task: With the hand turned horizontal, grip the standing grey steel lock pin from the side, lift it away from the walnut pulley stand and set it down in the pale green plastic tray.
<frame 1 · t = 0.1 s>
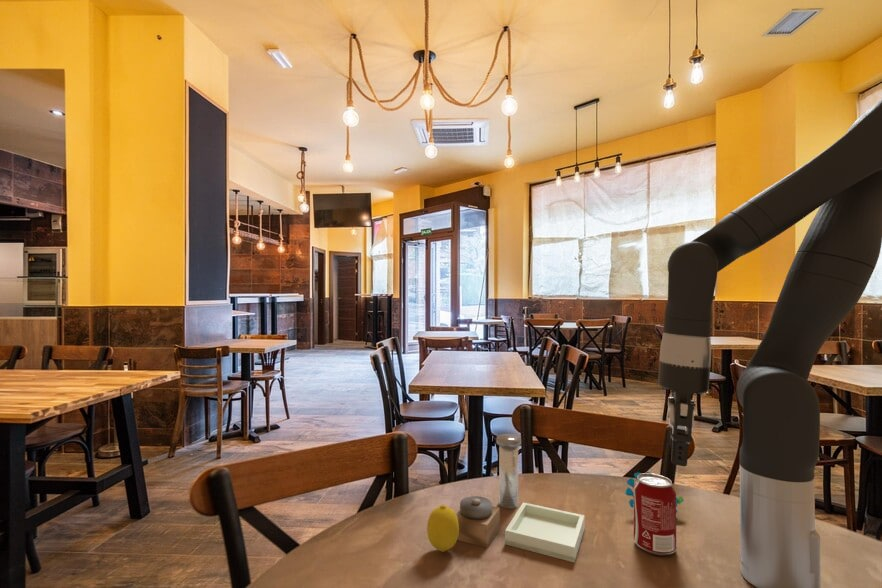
hand: (677, 456, 73), 17 cm above the table, tool pointing down, fingers open, 8 cm apart
gear: (654, 516, 88), on the table
pulley stand: (475, 533, 80), on the table
soda can: (654, 548, 76), on the table
lock pin: (508, 504, 92), on the table
lemon: (442, 552, 74), on the table
tray: (546, 536, 80), on the table
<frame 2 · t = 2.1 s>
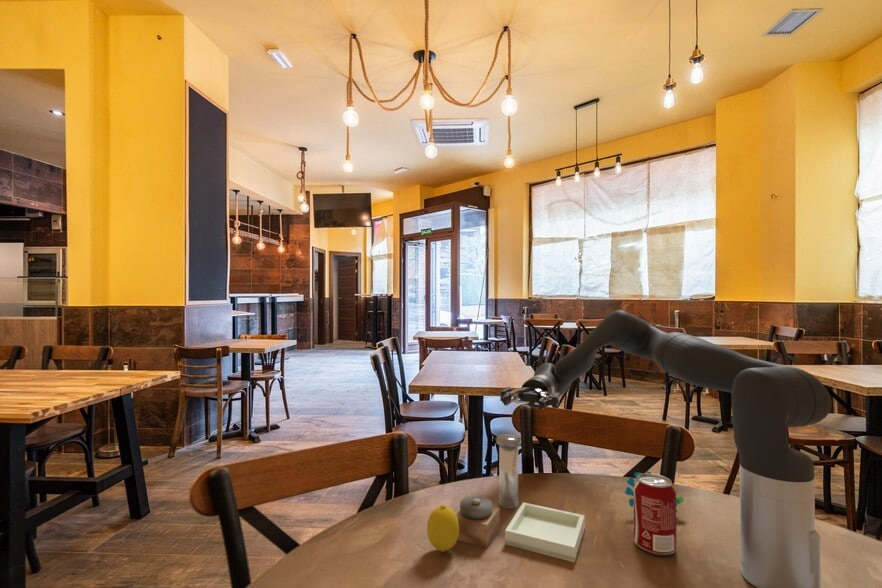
hand: (522, 403, 102), 19 cm above the table, tool horizontal, fingers open, 8 cm apart
nothing on the table moved.
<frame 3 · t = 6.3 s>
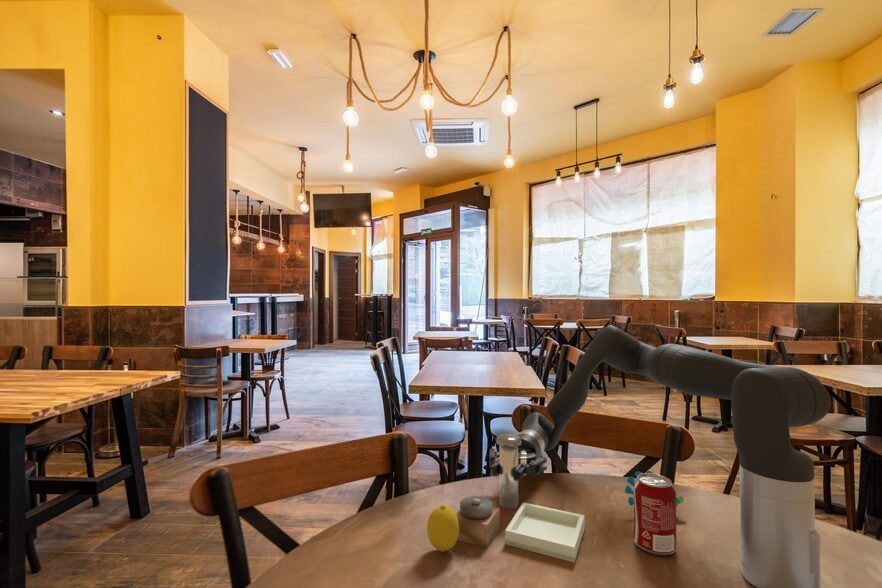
hand: (505, 473, 90), 8 cm above the table, tool horizontal, fingers closed on lock pin, 4 cm apart
lock pin: (508, 504, 92), on the table, touching gripper
everything else where it was.
when the fingers open (10 cm above the table, at t = 10.4 s): lock pin drops 1 cm, resting on tray.
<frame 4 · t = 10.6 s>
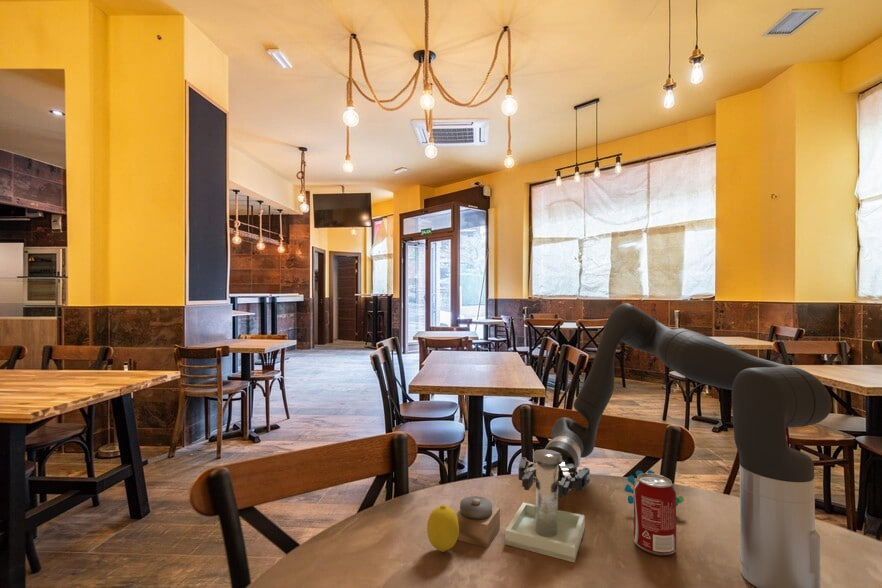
hand: (543, 488, 77), 10 cm above the table, tool horizontal, fingers open, 5 cm apart
lock pin: (546, 531, 80), point 1 cm above the table, touching tray
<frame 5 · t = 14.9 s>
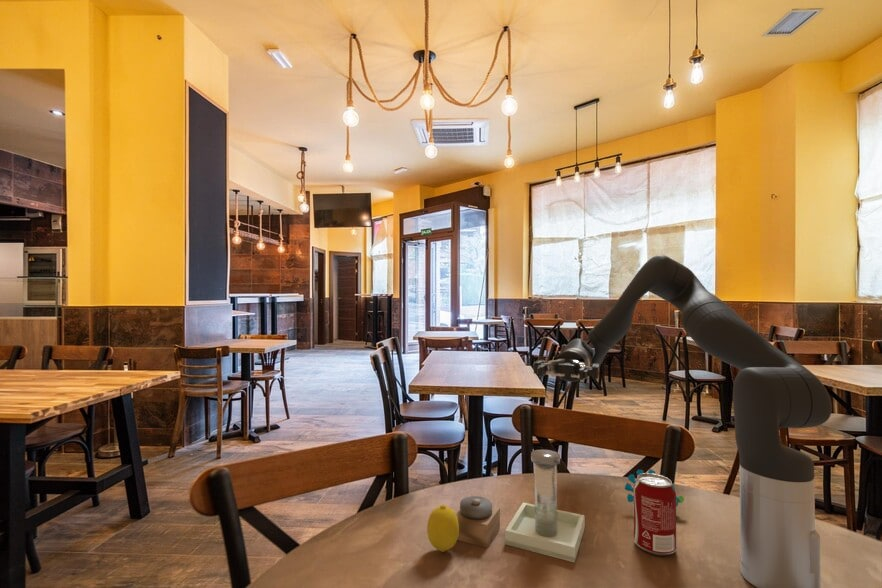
hand: (560, 373, 93), 28 cm above the table, tool horizontal, fingers open, 8 cm apart
at the end: lock pin inside the target area on the tray (0.1 cm from its centre), point 0.8 cm above the tray's base; the gripper is holding nothing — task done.
